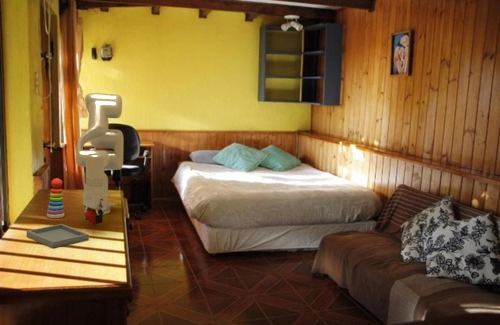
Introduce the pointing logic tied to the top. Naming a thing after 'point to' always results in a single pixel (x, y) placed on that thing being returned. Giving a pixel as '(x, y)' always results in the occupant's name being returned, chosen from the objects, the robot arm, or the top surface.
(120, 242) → the top surface
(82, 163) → the robot arm
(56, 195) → the stacking toy
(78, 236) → the tray
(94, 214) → the strawberry
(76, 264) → the top surface
